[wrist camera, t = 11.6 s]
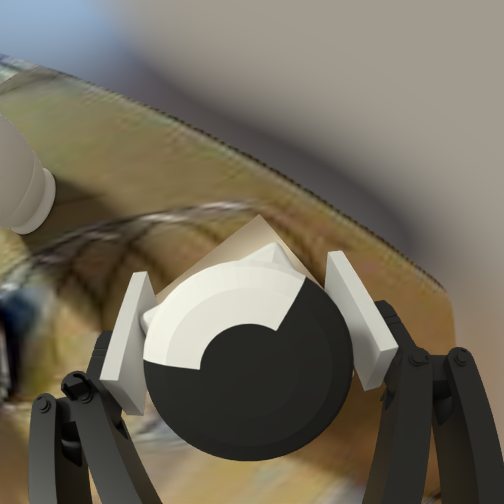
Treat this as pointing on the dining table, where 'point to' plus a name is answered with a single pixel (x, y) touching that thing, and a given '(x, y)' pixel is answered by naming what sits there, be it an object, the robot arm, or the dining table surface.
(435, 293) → the dining table surface
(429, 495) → the dining table surface
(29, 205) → the jar
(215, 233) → the dining table surface
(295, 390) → the medicine bottle
